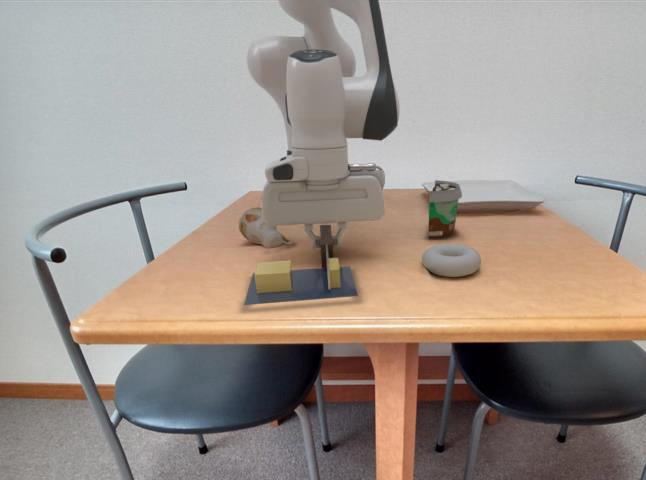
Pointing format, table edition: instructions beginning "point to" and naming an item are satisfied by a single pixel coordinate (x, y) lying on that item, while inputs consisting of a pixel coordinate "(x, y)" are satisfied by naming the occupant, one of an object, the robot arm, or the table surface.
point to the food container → (443, 209)
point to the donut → (451, 260)
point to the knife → (326, 248)
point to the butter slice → (334, 273)
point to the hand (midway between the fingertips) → (326, 247)
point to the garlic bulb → (260, 229)
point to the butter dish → (295, 284)
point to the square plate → (492, 196)
